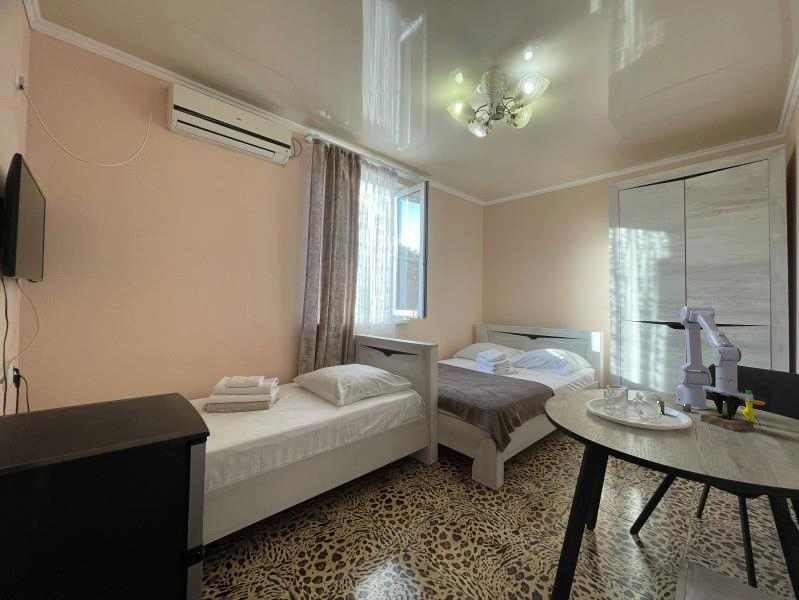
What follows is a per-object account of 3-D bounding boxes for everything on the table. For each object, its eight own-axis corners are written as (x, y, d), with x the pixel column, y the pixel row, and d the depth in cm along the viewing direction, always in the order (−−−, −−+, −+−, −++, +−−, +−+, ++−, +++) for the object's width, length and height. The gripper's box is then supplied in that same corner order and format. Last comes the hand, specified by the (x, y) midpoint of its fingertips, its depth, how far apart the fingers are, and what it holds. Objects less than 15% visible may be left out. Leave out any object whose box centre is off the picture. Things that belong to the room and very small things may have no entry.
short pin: (681, 410, 137) (681, 403, 137) (686, 410, 137) (686, 403, 137) (687, 412, 134) (687, 405, 134) (692, 412, 135) (692, 404, 135)
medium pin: (654, 412, 134) (654, 400, 134) (659, 412, 134) (659, 400, 134) (660, 414, 131) (660, 402, 131) (666, 414, 132) (666, 401, 132)
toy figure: (766, 425, 121) (766, 392, 121) (763, 426, 119) (763, 393, 119) (741, 419, 127) (741, 388, 127) (737, 420, 125) (737, 389, 125)
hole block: (700, 420, 124) (700, 414, 124) (720, 419, 127) (720, 412, 127) (732, 430, 115) (732, 423, 115) (753, 428, 117) (753, 421, 117)
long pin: (719, 420, 122) (719, 400, 122) (725, 420, 122) (725, 400, 122) (728, 423, 119) (728, 402, 119) (733, 422, 120) (733, 402, 120)
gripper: (696, 374, 127) (696, 409, 127) (742, 383, 113) (742, 422, 113) (710, 374, 129) (710, 408, 128) (757, 382, 114) (757, 421, 114)
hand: (726, 415), depth 121 cm, fingers closed on long pin, 2 cm apart
